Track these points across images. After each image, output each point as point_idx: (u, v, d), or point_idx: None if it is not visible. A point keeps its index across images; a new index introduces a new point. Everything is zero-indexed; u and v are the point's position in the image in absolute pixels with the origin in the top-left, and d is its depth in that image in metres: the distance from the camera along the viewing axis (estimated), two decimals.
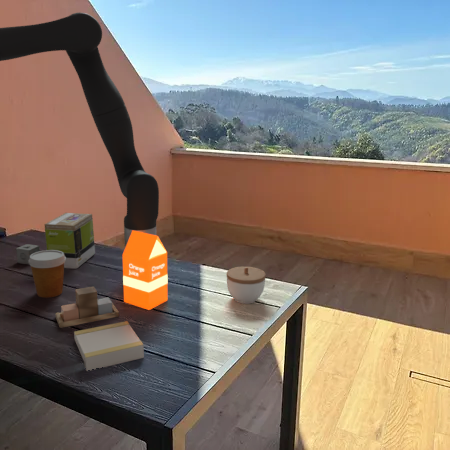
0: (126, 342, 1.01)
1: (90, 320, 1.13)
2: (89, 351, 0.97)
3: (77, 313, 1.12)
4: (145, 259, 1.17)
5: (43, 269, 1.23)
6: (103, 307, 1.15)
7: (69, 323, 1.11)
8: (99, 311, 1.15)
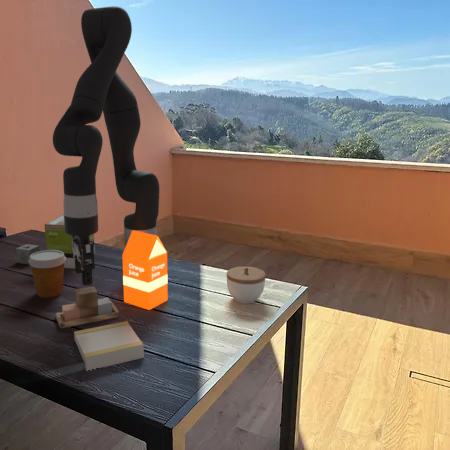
0: (126, 342, 1.01)
1: (90, 320, 1.13)
2: (89, 351, 0.97)
3: (78, 313, 1.12)
4: (145, 259, 1.17)
5: (43, 269, 1.23)
6: (102, 308, 1.15)
7: (69, 323, 1.11)
8: (99, 311, 1.15)
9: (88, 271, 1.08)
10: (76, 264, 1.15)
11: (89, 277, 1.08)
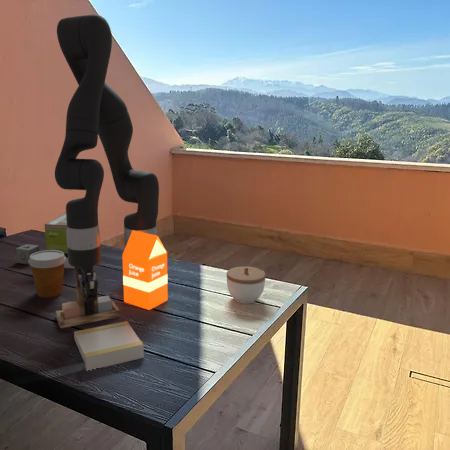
0: (126, 342, 1.01)
1: (90, 318, 1.13)
2: (89, 351, 0.97)
3: (78, 311, 1.12)
4: (145, 259, 1.17)
5: (43, 269, 1.23)
6: (102, 306, 1.15)
7: (69, 321, 1.11)
8: (99, 309, 1.15)
9: (90, 302, 1.12)
10: None
11: (91, 307, 1.12)
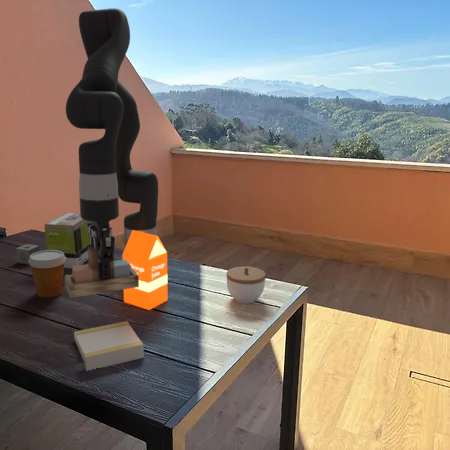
0: (126, 342, 1.01)
1: (105, 283, 0.96)
2: (89, 351, 0.97)
3: (91, 274, 0.96)
4: (145, 259, 1.17)
5: (43, 269, 1.23)
6: (119, 270, 0.98)
7: (80, 286, 0.94)
8: (115, 274, 0.98)
9: (106, 264, 0.95)
10: None
11: (107, 270, 0.95)
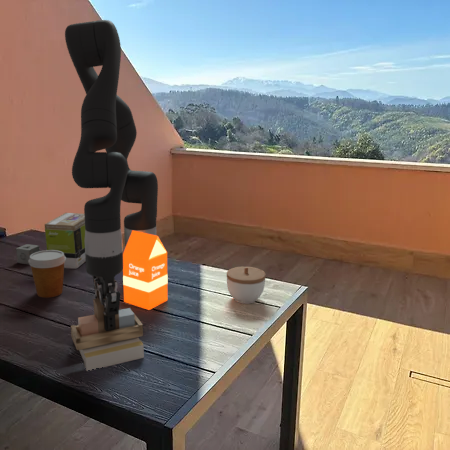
0: (126, 342, 1.01)
1: (110, 334, 0.99)
2: (89, 351, 0.97)
3: (96, 326, 0.98)
4: (145, 259, 1.17)
5: (43, 269, 1.23)
6: (124, 320, 1.01)
7: (87, 338, 0.97)
8: (120, 324, 1.01)
9: (111, 316, 0.98)
10: None
11: (112, 322, 0.98)
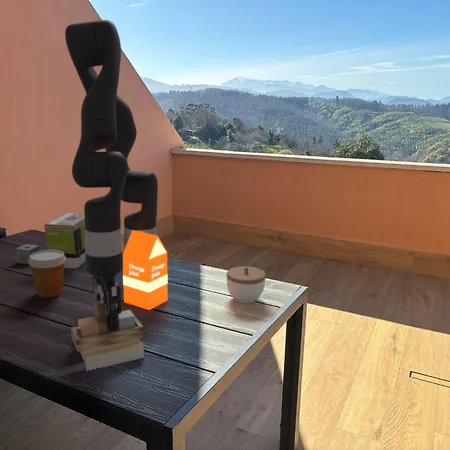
0: (126, 342, 1.01)
1: (111, 336, 0.99)
2: (89, 351, 0.97)
3: (97, 328, 0.99)
4: (145, 259, 1.17)
5: (43, 269, 1.23)
6: (124, 322, 1.01)
7: (87, 340, 0.97)
8: (120, 326, 1.01)
9: (114, 315, 0.96)
10: None
11: (115, 322, 0.96)
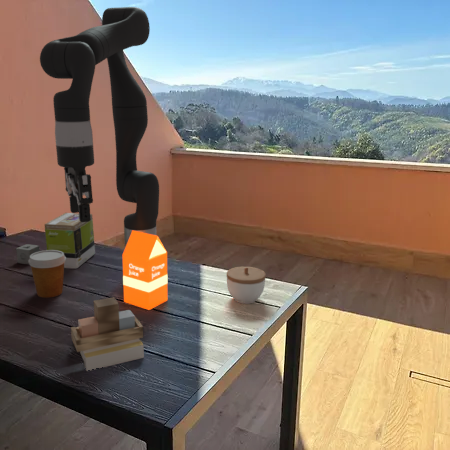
0: (126, 342, 1.01)
1: (111, 336, 0.99)
2: (89, 351, 0.97)
3: (97, 328, 0.99)
4: (145, 259, 1.17)
5: (43, 269, 1.23)
6: (124, 322, 1.01)
7: (87, 340, 0.97)
8: (120, 326, 1.01)
9: (86, 206, 0.99)
10: (71, 202, 1.06)
11: (87, 213, 0.99)
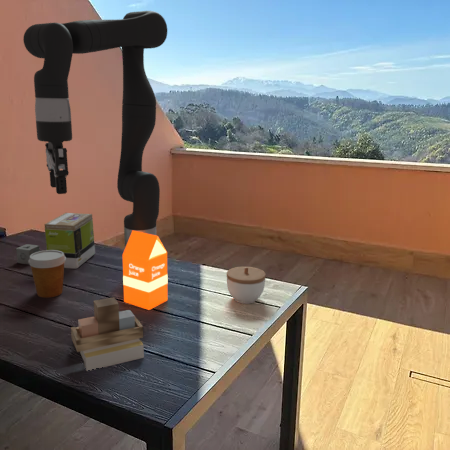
0: (126, 342, 1.01)
1: (111, 336, 0.99)
2: (89, 351, 0.97)
3: (97, 328, 0.99)
4: (145, 259, 1.17)
5: (43, 269, 1.23)
6: (124, 322, 1.01)
7: (87, 340, 0.97)
8: (120, 326, 1.01)
9: (62, 178, 1.05)
10: (51, 177, 1.12)
11: (63, 185, 1.05)
